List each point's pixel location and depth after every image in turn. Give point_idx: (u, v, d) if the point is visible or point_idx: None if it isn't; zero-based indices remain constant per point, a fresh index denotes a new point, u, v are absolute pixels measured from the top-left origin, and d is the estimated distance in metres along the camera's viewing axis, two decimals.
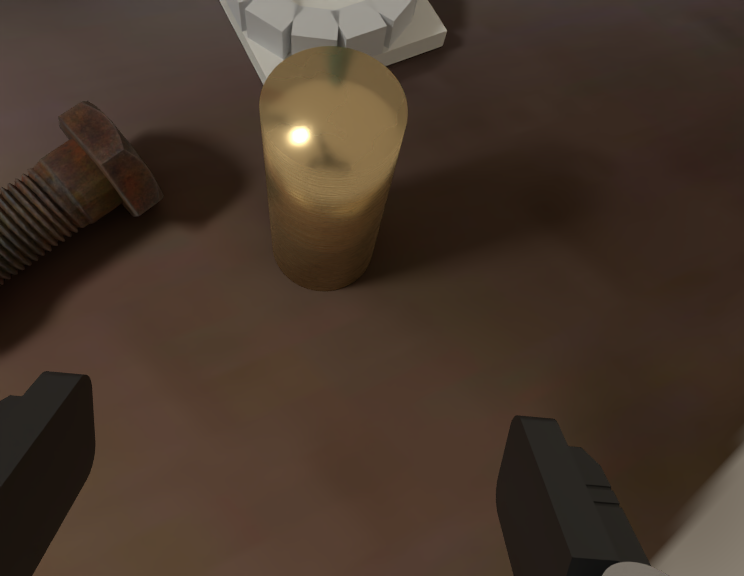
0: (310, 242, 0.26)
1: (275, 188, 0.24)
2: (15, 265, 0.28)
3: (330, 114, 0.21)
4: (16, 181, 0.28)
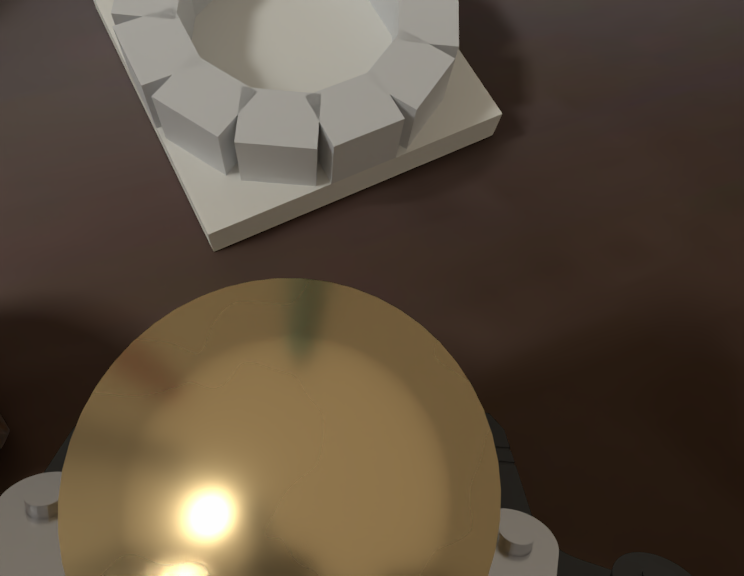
0: None
1: None
2: None
3: (274, 510, 0.07)
4: None
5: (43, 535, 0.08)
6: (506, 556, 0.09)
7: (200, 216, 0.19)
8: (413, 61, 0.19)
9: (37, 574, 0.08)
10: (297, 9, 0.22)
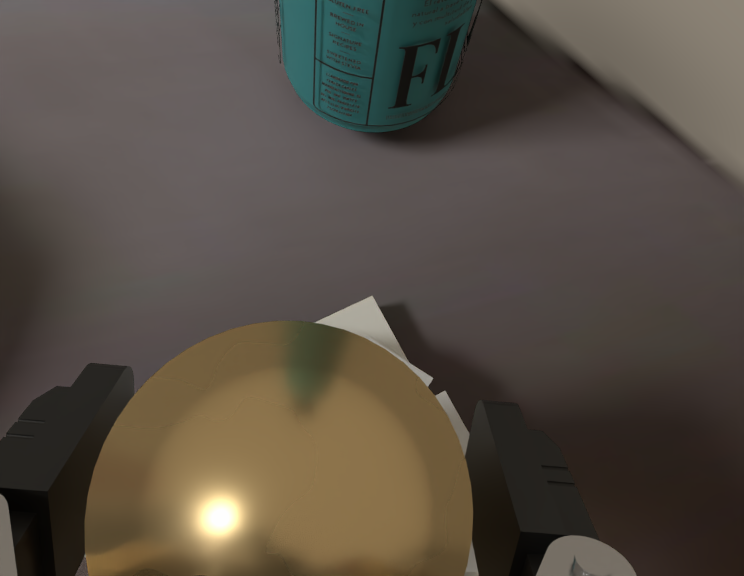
0: None
1: None
2: None
3: (273, 530, 0.08)
4: None
5: None
6: None
7: None
8: None
9: None
10: None
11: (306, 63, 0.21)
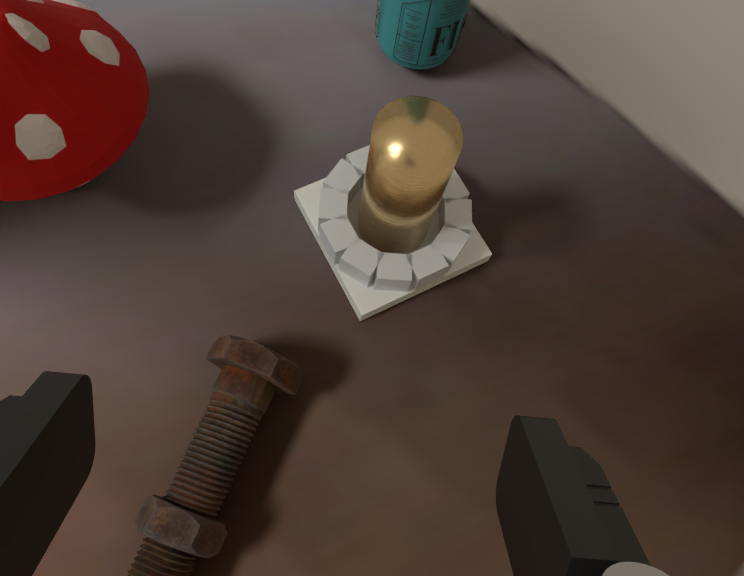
0: (395, 221, 0.39)
1: (377, 187, 0.37)
2: (237, 469, 0.38)
3: (416, 140, 0.35)
4: (211, 413, 0.38)
5: None
6: None
7: (357, 307, 0.43)
8: (452, 237, 0.43)
9: None
10: None
11: (391, 36, 0.48)
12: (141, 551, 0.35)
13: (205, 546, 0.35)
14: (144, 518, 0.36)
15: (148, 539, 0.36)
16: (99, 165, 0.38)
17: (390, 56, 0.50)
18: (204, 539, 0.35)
